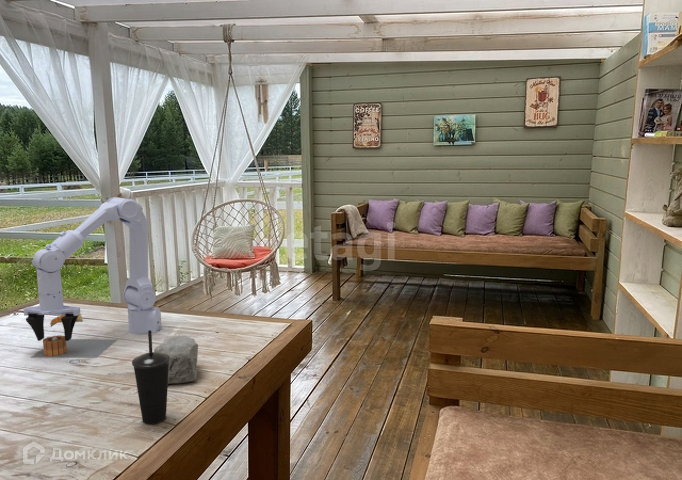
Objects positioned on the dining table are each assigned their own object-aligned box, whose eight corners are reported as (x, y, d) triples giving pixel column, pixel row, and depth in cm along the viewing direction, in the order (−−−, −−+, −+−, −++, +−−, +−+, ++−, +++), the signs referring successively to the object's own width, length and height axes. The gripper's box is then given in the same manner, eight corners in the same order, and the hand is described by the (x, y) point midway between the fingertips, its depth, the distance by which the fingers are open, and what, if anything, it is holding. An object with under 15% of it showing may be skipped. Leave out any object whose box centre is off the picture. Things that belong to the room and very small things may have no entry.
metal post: (59, 351, 143) (58, 336, 143) (56, 353, 142) (55, 338, 141) (54, 351, 143) (53, 336, 143) (51, 353, 142) (50, 338, 141)
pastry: (53, 329, 166) (52, 318, 166) (48, 324, 171) (47, 313, 171) (84, 323, 173) (83, 312, 172) (78, 319, 178) (77, 308, 177)
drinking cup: (141, 410, 114) (136, 325, 111) (176, 409, 114) (172, 324, 111) (130, 428, 106) (125, 337, 103) (167, 427, 107) (163, 336, 104)
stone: (152, 369, 136) (150, 333, 134) (197, 364, 140) (196, 329, 138) (152, 390, 124) (150, 351, 122) (201, 383, 128) (200, 345, 126)
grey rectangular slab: (117, 344, 154) (117, 339, 153) (96, 362, 140) (96, 357, 140) (57, 343, 153) (57, 339, 153) (30, 362, 139) (30, 357, 139)
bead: (70, 348, 146) (69, 335, 145) (60, 356, 140) (59, 342, 139) (50, 348, 145) (49, 335, 145) (39, 356, 140) (38, 342, 139)
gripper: (15, 296, 136) (19, 344, 138) (69, 296, 136) (73, 344, 138) (30, 289, 143) (34, 335, 145) (82, 289, 143) (86, 335, 145)
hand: (54, 339), depth 142 cm, fingers open, 7 cm apart
